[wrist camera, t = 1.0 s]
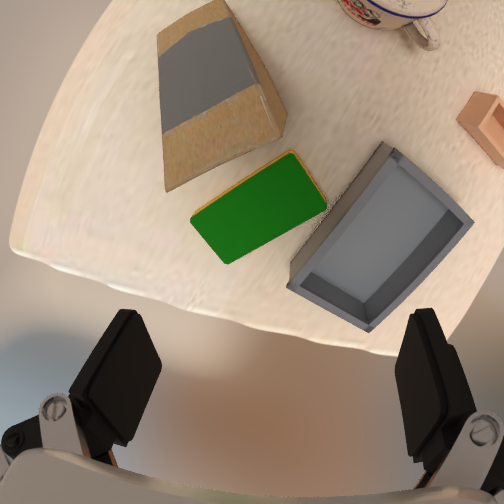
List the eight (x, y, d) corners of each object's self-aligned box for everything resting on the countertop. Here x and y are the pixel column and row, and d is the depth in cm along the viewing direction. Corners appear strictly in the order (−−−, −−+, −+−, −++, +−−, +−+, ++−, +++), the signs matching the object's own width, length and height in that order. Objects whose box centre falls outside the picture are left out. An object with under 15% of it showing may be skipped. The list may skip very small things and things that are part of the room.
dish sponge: (194, 211, 37) (187, 220, 35) (292, 147, 32) (292, 152, 30) (229, 255, 40) (225, 266, 38) (326, 200, 34) (328, 208, 32)
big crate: (382, 138, 29) (395, 148, 25) (456, 203, 31) (474, 222, 27) (288, 262, 39) (286, 287, 34) (363, 306, 40) (368, 333, 36)
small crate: (474, 91, 24) (498, 95, 20) (513, 138, 25) (537, 148, 21) (456, 119, 26) (478, 127, 22) (495, 164, 28) (518, 177, 23)
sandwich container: (223, -6, 24) (169, -59, 11) (290, 114, 30) (285, 137, 17) (154, 34, 27) (67, 18, 14) (218, 148, 33) (164, 195, 20)
